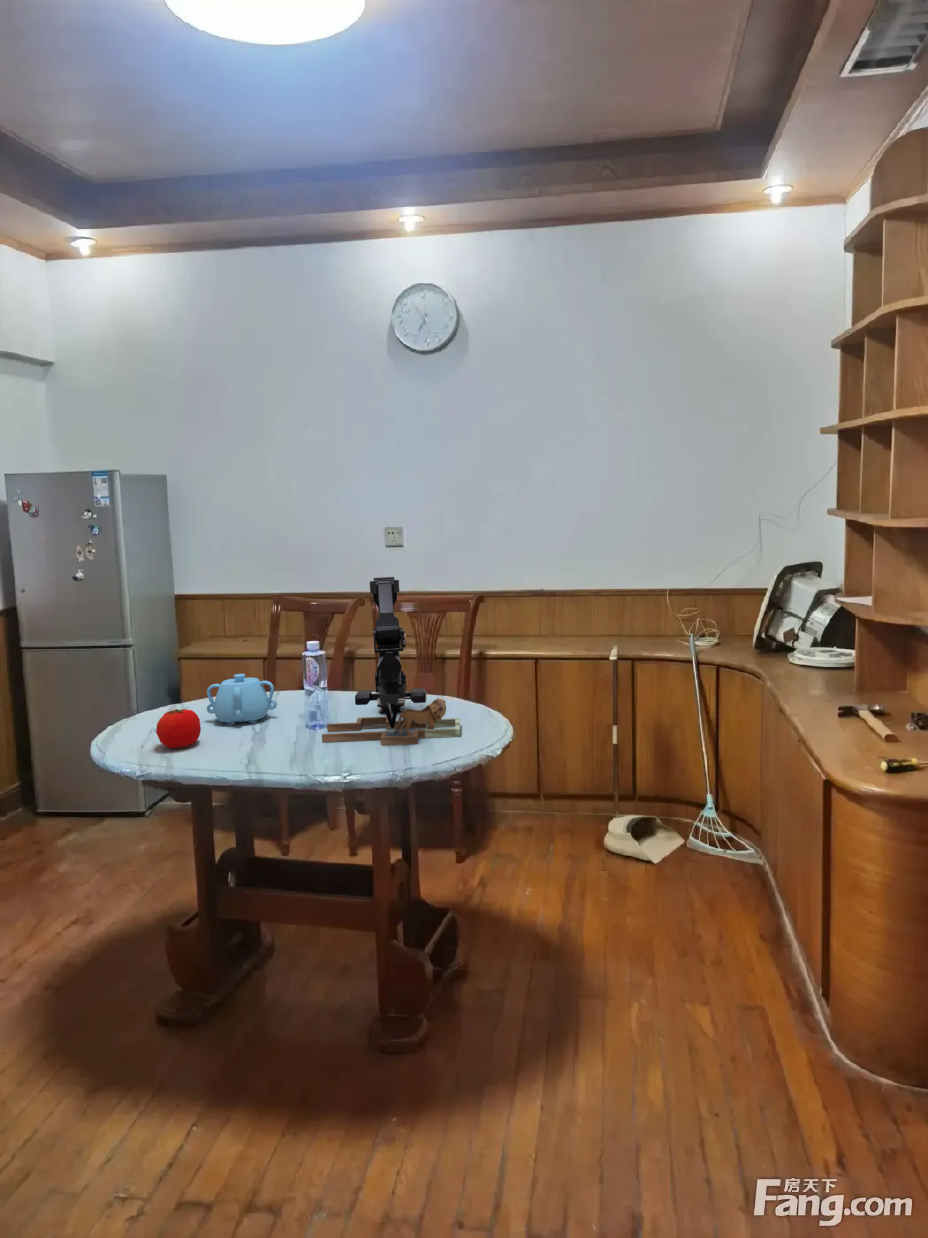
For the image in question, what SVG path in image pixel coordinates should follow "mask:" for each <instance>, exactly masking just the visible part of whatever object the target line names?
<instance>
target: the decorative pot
mask: <svg viewBox="0 0 928 1238" xmlns="http://www.w3.org/2000/svg"><path fill="white" fill-rule="evenodd" d="M263 685H266V686H269V689H270V690H269V695H268V694H267V692H266V690H265V688H264V686H263ZM214 688H218V689H217V693H216V695H215V700H214V698H213V696H212V693H211V691H212V689H214ZM274 693H275V686H274V684H273V683H272V682H271V681H268V680H261V681H260V679H259V678H257V677H246V674H245V673H236V674H234V675H233V678H230V679H229V678H228V679H225V680H223V681H222V682H221V683H214V684H211V685H209V687H208V688H207V689H206V696H207V698H208V701H209V703H210V704H208V705H207V707H206V711H207V712H208V714H214V715H215V717H216V718H217V720H218V721H220V722H221V723H222V722H223V723H225V724H226V723H227V724H232V725H234V724H233V723H235V724H236V723H241V722H249V723H248V724H256V723H258V722H257V721H259V720H261V719H263V718H264V717H265V716H266V715H267V713H268V711H269V710H272V711H273V710H275V709H276V708H277V705H278V704H277V701H275V700H273V696H274ZM271 704H273V705H271ZM211 707H212V709H211ZM255 722H256V723H255Z"/></svg>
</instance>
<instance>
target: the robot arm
mask: <svg viewBox="0 0 928 1238" xmlns="http://www.w3.org/2000/svg"><path fill="white" fill-rule="evenodd" d="M398 593H399V594H400V580H399V579H395V576H385V577H373V580H372V581H371V580H370V581H369V594H370V595H372V601H373V602H374V603H375V605H376V606H377V608H378V617H377V619H375V628H373V647H374V650H373V651H374V653H378V655H377V657H378V663H377V664H376V671H375V672H374V683H375V684H374V685H375V693H372V690H371V689H370V690H369V689H368V690H367V689H365V690H364V689H363V690H358V691H357V692H356V694H355V696H354V705H356V706H365V705H368V704H369V703H370V702H371V701H376V702H377V706H376V707H377V708H379V714H385V717H387V719H388V721H389V724H390V727H391V728H394V725H395V721H397V716H398V714H401V713H402V712H403V707H405V705H406V700H410V701H411V702H412V703H413V704H422V703H425V704H426V702H427V698H428V697H427V690H426V688H424V687H421V688H420V687H419V688H411V691H410V692H407V690H408V689H407V675H406V674H405V672H404V670H402V662H401V653H400V652H404V651H405V649H404V648H406V634H405V633H406V632H405V630H403V629H404V628H403V627H400V621H399V618H397V617H396V616H395V612H394V611H395V609H394V608H395V607H394V606H395V604H396V602H397V601H398Z"/></svg>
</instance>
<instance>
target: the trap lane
mask: <svg viewBox="0 0 928 1238" xmlns="http://www.w3.org/2000/svg"><path fill="white" fill-rule="evenodd" d="M401 722H402V720H401ZM401 722H400V723H401ZM397 725H398V720H396V721H395V725H394V728H391V727H390V724H389V721H388V719H387V716H369V717H367V716H366V717H357V719H356V722H342V723H340V722H338V723H327V724H326V727H327V728H326V730H327V733H321V742H322V743H323V744H324V743H339V742H341V743H342V742H345V743H346V742H364V741H365V742H366V741H367V742H368V741H371V742H372V741H380V745H381V746H382V747H383V746H401V745H403V746H405V745H407V746H408V745H418V744H419V739H435V738H438V739H439V738H457V737H459V738H460V737H461V718H460V717H458V718H441V720H440V721H439V722H435V726H434V729H428V724H427V723H423V724H419V723H416V722H414V721H411V725H410V728H409V730H410V729H413V731H412V733H413V735H411V736H410V735H394V736H390V735H389V736H388V730H396V729H397ZM425 728H426V729H425ZM376 729H377V730H379V729H380V730H381V729H385V731H362V732H360V731H361V730H376ZM401 730H406V725H404V726H403V727H402V729H401Z"/></svg>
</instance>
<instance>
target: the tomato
mask: <svg viewBox="0 0 928 1238" xmlns="http://www.w3.org/2000/svg"><path fill="white" fill-rule="evenodd" d="M188 708H189V706H188V707H186V708H184V709H179V708H175V709H173V710H170V711H166V712H165V713H163V715H162V716H161V717H160V718H159V719H158V721H157V723H156V730H155V733H156V736H157V738H158V741H159V743H161V744H162V745H163V746H165V747H166V748H167V749H181V748H180V747H183V748H186V747H189V745H190V746H191V744H192V745H193V744H195V743H196V742H197V741H198V739H199V738H200V736H201V731H202V728H201V721H200V718H199V716H198V714H197V713H196V712H195V711H193V710H192V709H188Z"/></svg>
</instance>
